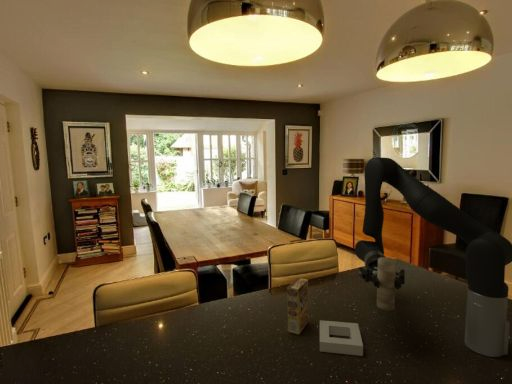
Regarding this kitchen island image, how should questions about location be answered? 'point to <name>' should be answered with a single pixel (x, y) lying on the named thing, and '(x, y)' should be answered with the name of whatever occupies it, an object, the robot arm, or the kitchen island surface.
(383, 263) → the peg
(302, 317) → the candy box
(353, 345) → the socket block
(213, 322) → the kitchen island surface
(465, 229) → the robot arm
